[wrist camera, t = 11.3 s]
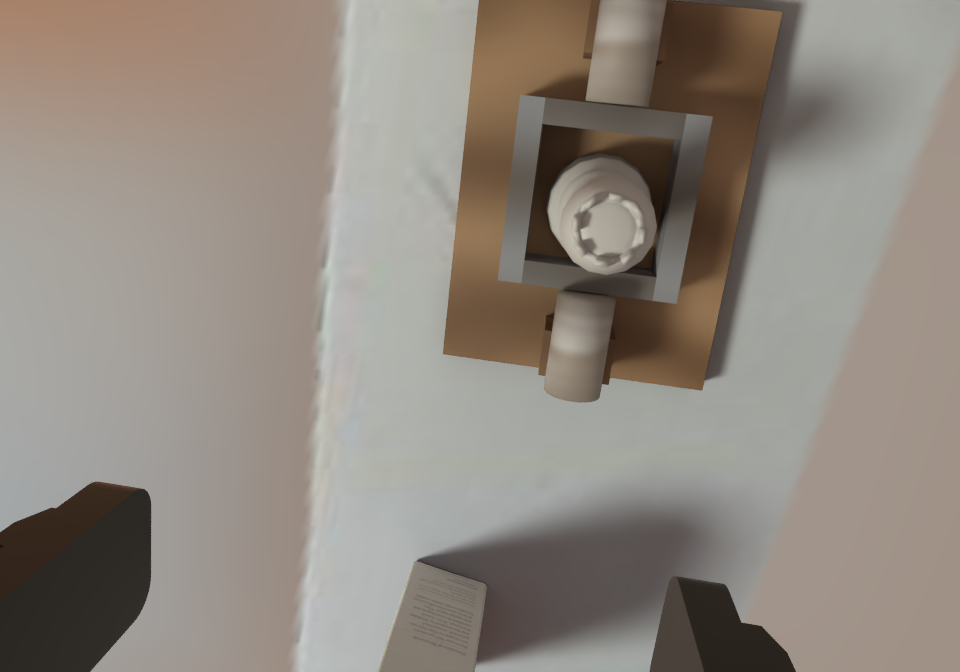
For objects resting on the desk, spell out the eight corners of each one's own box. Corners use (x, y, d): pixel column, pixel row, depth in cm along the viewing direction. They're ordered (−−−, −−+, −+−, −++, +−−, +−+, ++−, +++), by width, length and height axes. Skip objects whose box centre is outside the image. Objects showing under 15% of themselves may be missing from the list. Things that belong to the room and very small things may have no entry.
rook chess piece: (628, 135, 31) (649, 137, 23) (666, 232, 32) (699, 266, 24) (529, 179, 32) (519, 195, 24) (569, 273, 32) (572, 317, 25)
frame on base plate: (698, 383, 34) (719, 422, 30) (446, 348, 35) (428, 381, 31) (775, 15, 30) (814, -5, 25) (483, -15, 31) (469, -40, 26)
